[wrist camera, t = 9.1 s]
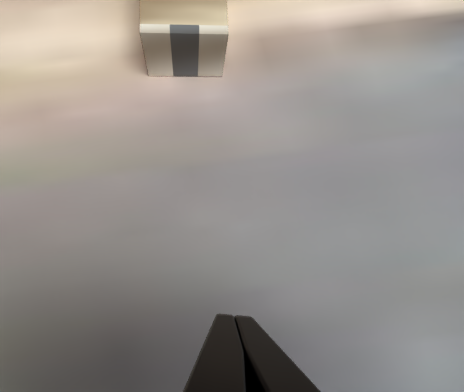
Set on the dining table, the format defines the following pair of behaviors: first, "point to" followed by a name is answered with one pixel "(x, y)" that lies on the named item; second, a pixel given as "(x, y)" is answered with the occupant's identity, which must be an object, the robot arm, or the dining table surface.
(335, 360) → the dining table surface
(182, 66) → the maple block
